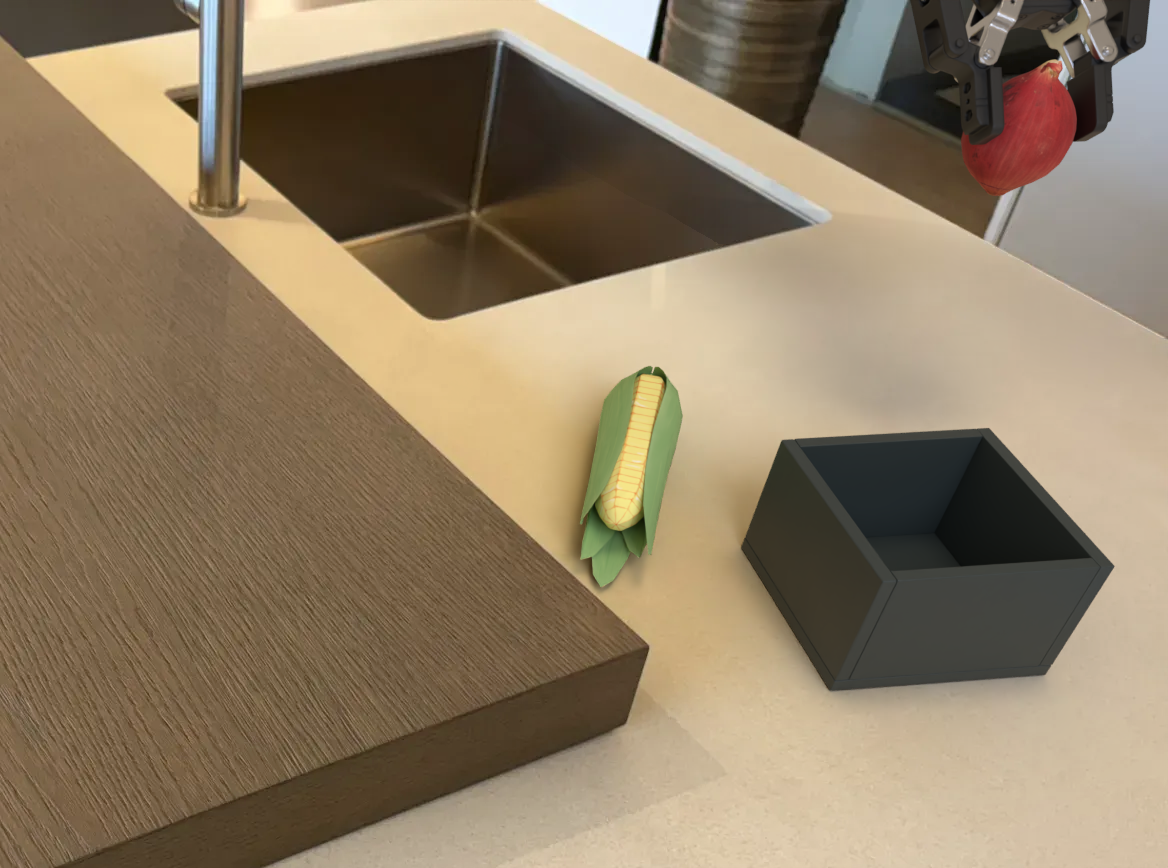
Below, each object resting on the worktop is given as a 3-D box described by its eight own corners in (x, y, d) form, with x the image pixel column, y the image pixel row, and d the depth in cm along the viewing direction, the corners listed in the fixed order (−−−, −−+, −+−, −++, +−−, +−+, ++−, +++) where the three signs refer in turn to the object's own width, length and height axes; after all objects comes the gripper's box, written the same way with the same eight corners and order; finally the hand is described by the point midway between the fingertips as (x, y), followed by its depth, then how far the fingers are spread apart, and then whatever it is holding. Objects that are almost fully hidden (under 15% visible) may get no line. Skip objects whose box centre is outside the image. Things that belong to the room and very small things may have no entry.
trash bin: (935, 534, 84) (989, 427, 78) (1045, 675, 75) (1115, 566, 70) (740, 547, 83) (781, 439, 77) (829, 691, 74) (883, 581, 69)
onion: (947, 209, 82) (1004, 72, 77) (936, 168, 86) (990, 35, 80) (1049, 221, 81) (1115, 84, 76) (1034, 180, 85) (1096, 46, 80)
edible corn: (679, 421, 92) (697, 362, 89) (644, 603, 79) (664, 541, 76) (602, 406, 93) (618, 347, 90) (555, 583, 80) (571, 521, 77)
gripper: (946, -194, 75) (963, 115, 75) (1190, -197, 76) (1205, 107, 76) (868, -113, 82) (884, 167, 83) (1091, -117, 84) (1105, 159, 84)
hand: (1038, 137), depth 80 cm, fingers closed on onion, 5 cm apart
